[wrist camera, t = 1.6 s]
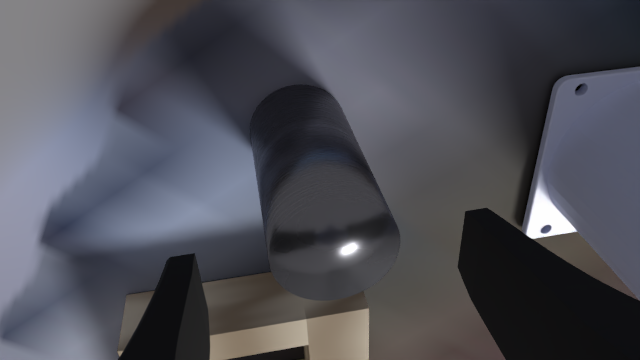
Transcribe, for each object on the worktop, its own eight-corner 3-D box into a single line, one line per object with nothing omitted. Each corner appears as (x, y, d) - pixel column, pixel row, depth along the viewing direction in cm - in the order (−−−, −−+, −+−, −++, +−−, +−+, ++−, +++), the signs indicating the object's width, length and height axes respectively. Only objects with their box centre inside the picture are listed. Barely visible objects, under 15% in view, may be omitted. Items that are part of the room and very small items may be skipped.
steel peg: (344, 79, 19) (403, 189, 14) (346, 162, 21) (397, 289, 16) (244, 91, 19) (261, 209, 13) (256, 175, 21) (275, 309, 15)
